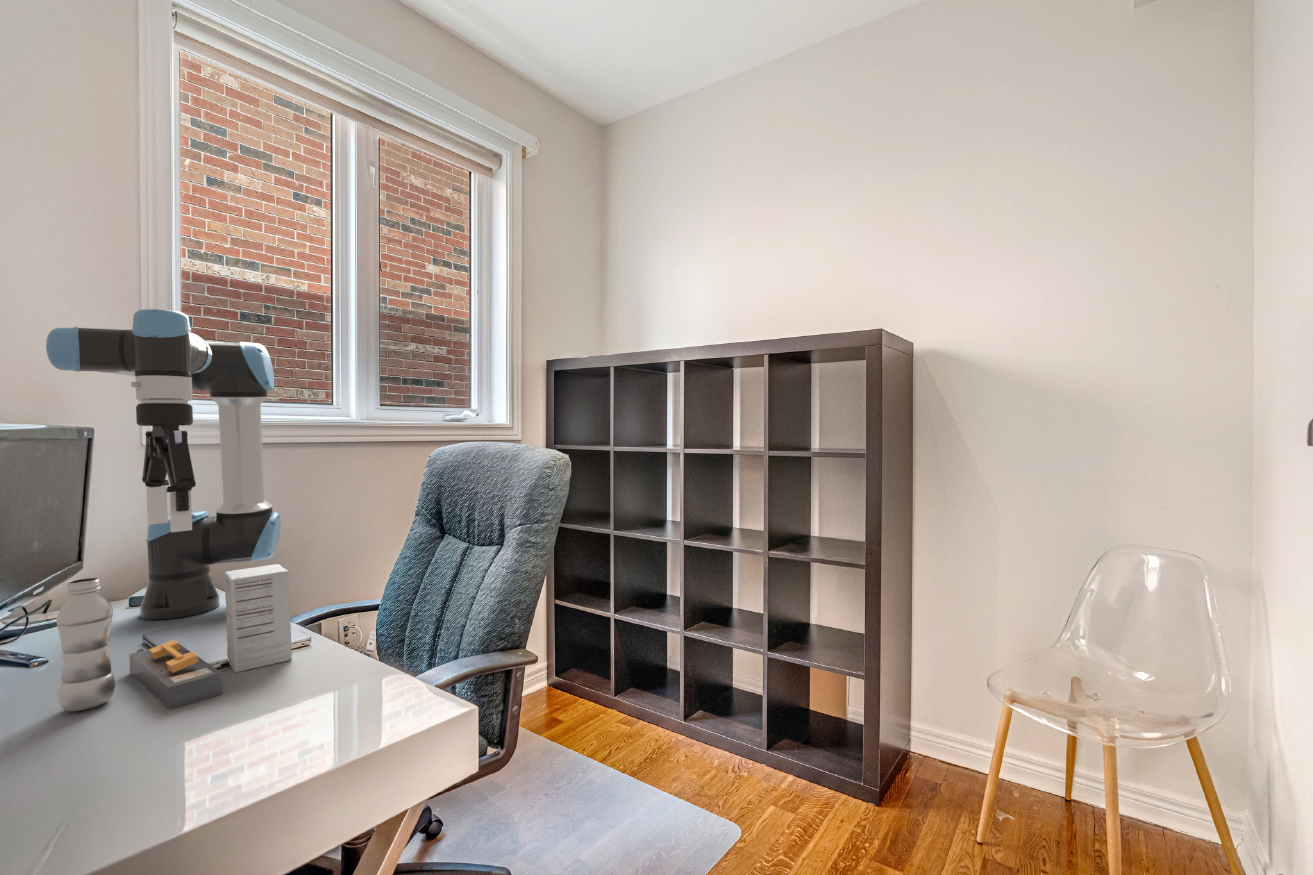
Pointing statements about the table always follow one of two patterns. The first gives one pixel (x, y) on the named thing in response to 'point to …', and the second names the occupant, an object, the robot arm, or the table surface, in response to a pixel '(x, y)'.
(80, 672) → the plastic bottle
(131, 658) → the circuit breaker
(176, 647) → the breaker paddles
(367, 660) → the table surface
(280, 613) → the supplement box
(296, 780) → the table surface
